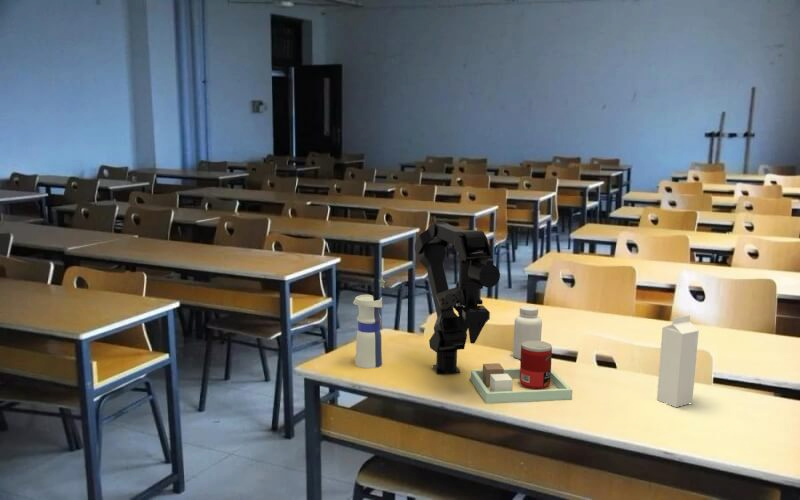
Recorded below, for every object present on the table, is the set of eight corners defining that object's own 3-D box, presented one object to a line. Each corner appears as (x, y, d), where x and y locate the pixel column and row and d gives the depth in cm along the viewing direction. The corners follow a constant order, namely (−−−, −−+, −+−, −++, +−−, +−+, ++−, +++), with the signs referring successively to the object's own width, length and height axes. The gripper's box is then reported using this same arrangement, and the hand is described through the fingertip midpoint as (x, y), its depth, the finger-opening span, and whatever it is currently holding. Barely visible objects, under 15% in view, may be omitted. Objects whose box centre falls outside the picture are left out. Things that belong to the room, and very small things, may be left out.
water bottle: (365, 356, 212) (365, 273, 207) (389, 362, 207) (389, 277, 202) (347, 364, 205) (347, 278, 201) (371, 370, 200) (371, 282, 196)
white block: (489, 392, 185) (490, 374, 184) (506, 392, 186) (507, 373, 185) (494, 399, 181) (495, 380, 180) (511, 398, 181) (512, 379, 180)
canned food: (550, 391, 187) (552, 350, 185) (518, 388, 188) (520, 348, 186) (550, 380, 194) (552, 341, 192) (520, 378, 195) (521, 339, 193)
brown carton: (482, 381, 193) (482, 363, 192) (498, 381, 193) (499, 363, 193) (486, 387, 189) (486, 369, 188) (503, 387, 189) (503, 369, 188)
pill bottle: (542, 361, 209) (544, 311, 207) (514, 361, 209) (516, 310, 207) (537, 352, 217) (540, 304, 214) (511, 352, 217) (513, 303, 214)
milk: (692, 403, 179) (700, 318, 175) (675, 408, 176) (683, 321, 172) (672, 395, 184) (680, 312, 180) (655, 399, 181) (663, 315, 177)
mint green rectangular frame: (470, 378, 195) (470, 370, 194) (548, 375, 198) (549, 366, 197) (486, 403, 178) (486, 393, 178) (571, 399, 181) (572, 389, 181)
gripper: (432, 272, 193) (431, 328, 196) (446, 288, 175) (445, 350, 177) (473, 271, 194) (471, 327, 197) (491, 287, 176) (489, 348, 179)
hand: (468, 337), depth 188 cm, fingers open, 9 cm apart
